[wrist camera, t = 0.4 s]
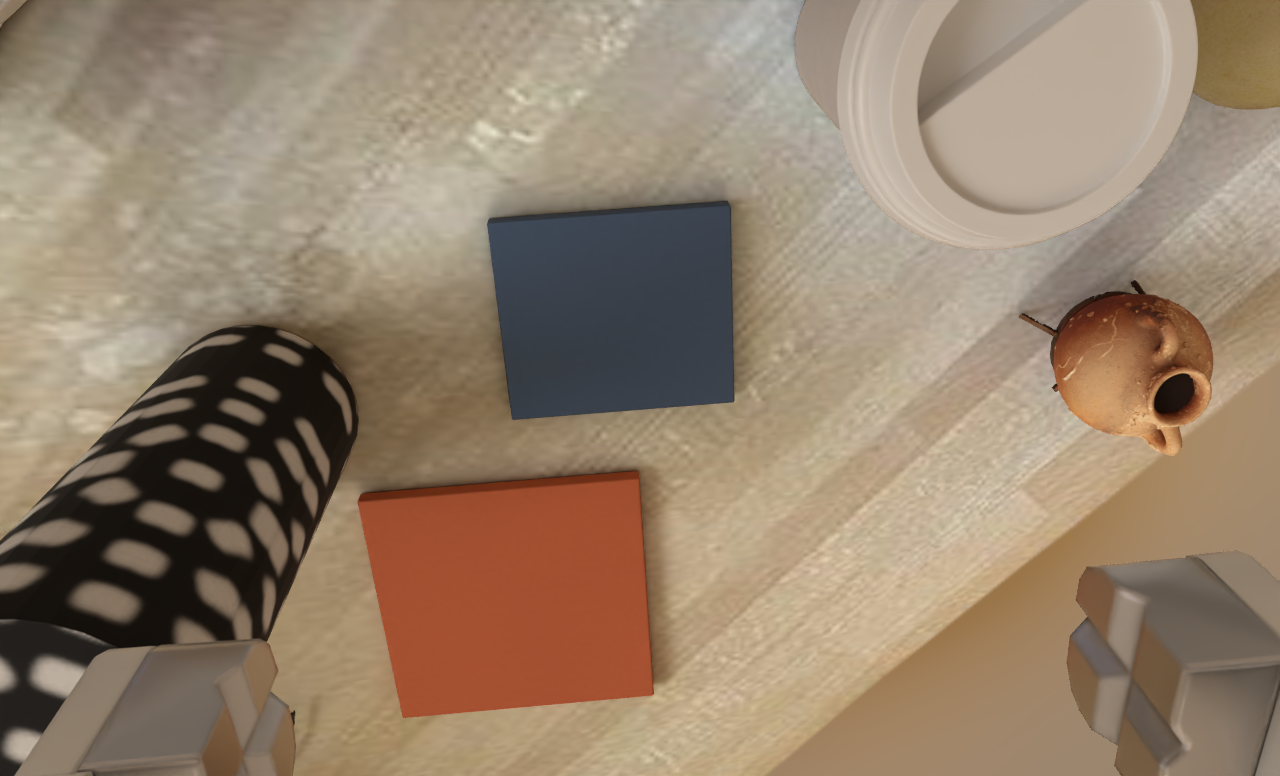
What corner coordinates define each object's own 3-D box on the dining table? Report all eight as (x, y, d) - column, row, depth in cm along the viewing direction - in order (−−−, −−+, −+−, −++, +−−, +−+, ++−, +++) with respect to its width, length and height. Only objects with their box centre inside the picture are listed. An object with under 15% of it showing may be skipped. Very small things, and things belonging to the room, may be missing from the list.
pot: (1078, 236, 42) (983, 351, 44) (1201, 277, 35) (1082, 415, 36) (1164, 308, 44) (1070, 417, 46) (1298, 362, 37) (1181, 491, 38)
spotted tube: (387, 375, 43) (250, 690, 24) (318, 519, 45) (148, 899, 27) (202, 292, 41) (-99, 569, 22) (140, 449, 43) (-172, 808, 25)
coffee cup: (980, -129, 36) (1230, -178, 22) (1007, 124, 40) (1233, 215, 26) (731, -55, 36) (825, -57, 23) (782, 188, 40) (889, 310, 27)
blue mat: (488, 218, 40) (487, 223, 39) (727, 200, 40) (730, 205, 40) (513, 412, 44) (512, 420, 43) (731, 395, 44) (734, 402, 43)
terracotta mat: (360, 492, 45) (357, 501, 44) (638, 470, 45) (639, 478, 45) (404, 707, 50) (402, 718, 50) (652, 685, 51) (654, 696, 50)
